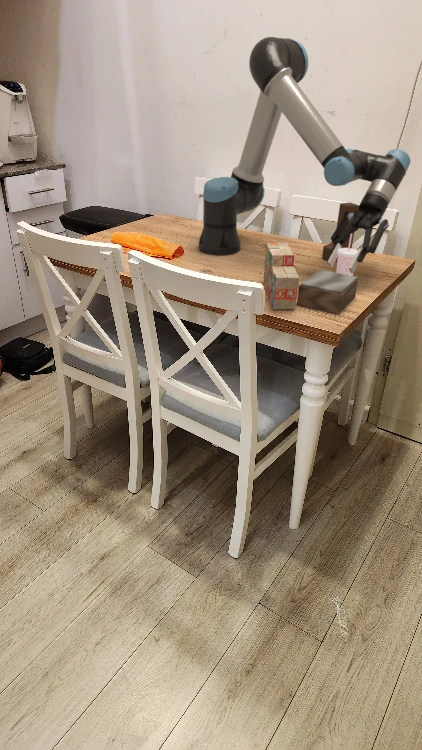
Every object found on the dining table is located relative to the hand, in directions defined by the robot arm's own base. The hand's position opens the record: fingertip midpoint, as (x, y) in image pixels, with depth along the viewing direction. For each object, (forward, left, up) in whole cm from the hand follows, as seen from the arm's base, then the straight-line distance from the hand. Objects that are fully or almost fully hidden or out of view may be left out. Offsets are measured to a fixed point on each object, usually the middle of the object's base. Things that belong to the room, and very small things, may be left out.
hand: (340, 267), depth 140 cm
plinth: (+1, -10, -6) cm, 12 cm away
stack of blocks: (-13, -14, -7) cm, 20 cm away
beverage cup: (+1, +4, -5) cm, 6 cm away
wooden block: (-9, +27, -7) cm, 29 cm away
